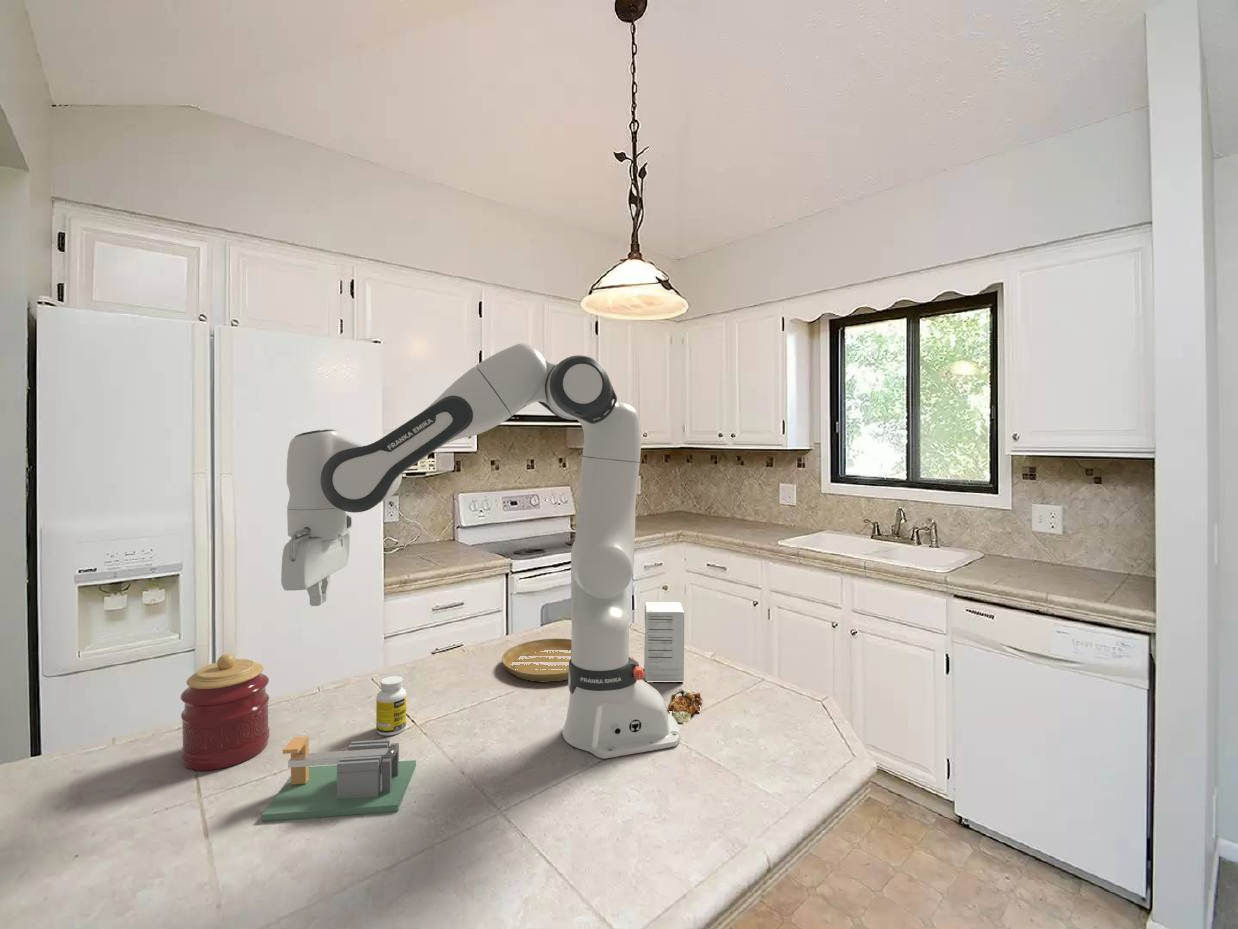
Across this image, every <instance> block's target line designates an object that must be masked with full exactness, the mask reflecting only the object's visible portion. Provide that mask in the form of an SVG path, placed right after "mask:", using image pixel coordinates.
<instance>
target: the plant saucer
mask: <svg viewBox="0 0 1238 929" xmlns="http://www.w3.org/2000/svg"><path fill="white" fill-rule="evenodd" d="M544 650H568V651H569V650H571V638H544V639H543V638H542V639H536V640H534V639H533V640H530V641H525V642H522V643H519V644H517V645H514V646H512V647H510V648H509V649H507V650H506V651H505V652H504V653H503V655H502V657H501V661H502V664H503V666H504V668H505V669H506V670H507V672H509V673H510V674H512V675H513V676H515V677H516V678H519V679H521V678H522V680H524V679H525V680H524V681H528V680H530V681H529V682H534V681H545V682H544V683H551V682H550V681H558V682H563V680H565V681H568V667H569V665H567V666H565V665H563V666H562V665H559V666H558V665H556V666H554V665H553V666H551V665H550V666H548V665H540V664H539V665H536V664H533V663H531V664H529V665H528V664H527V665H526V664H525V665H524V664H520V665H513V666H512V665H511V664H512V662H569V659H567V658H565V659H563V658H561V659H558V658H557V657H554V658H553V659H552V658H551V659H549V657H547V658H546V657H541V658H540V657H536V658H532V659H525V658H524V659H523V660H522V659H520V660H519V659H518V658H519V657H520V656H571V653H564V652H559V651H558V652H555V651H554V653H553V652H552V651H551V653H550V652H549V651H548V653H547V652H540V651H544ZM535 652H536V653H535ZM517 659H518V660H517ZM566 659H567V660H566ZM515 669H516V670H515ZM517 669H518V670H517ZM535 669H538V670H535ZM540 669H541V670H540ZM542 669H546V670H542ZM548 669H563V670H548ZM564 669H566V670H564ZM546 681H548V682H546Z"/></svg>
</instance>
